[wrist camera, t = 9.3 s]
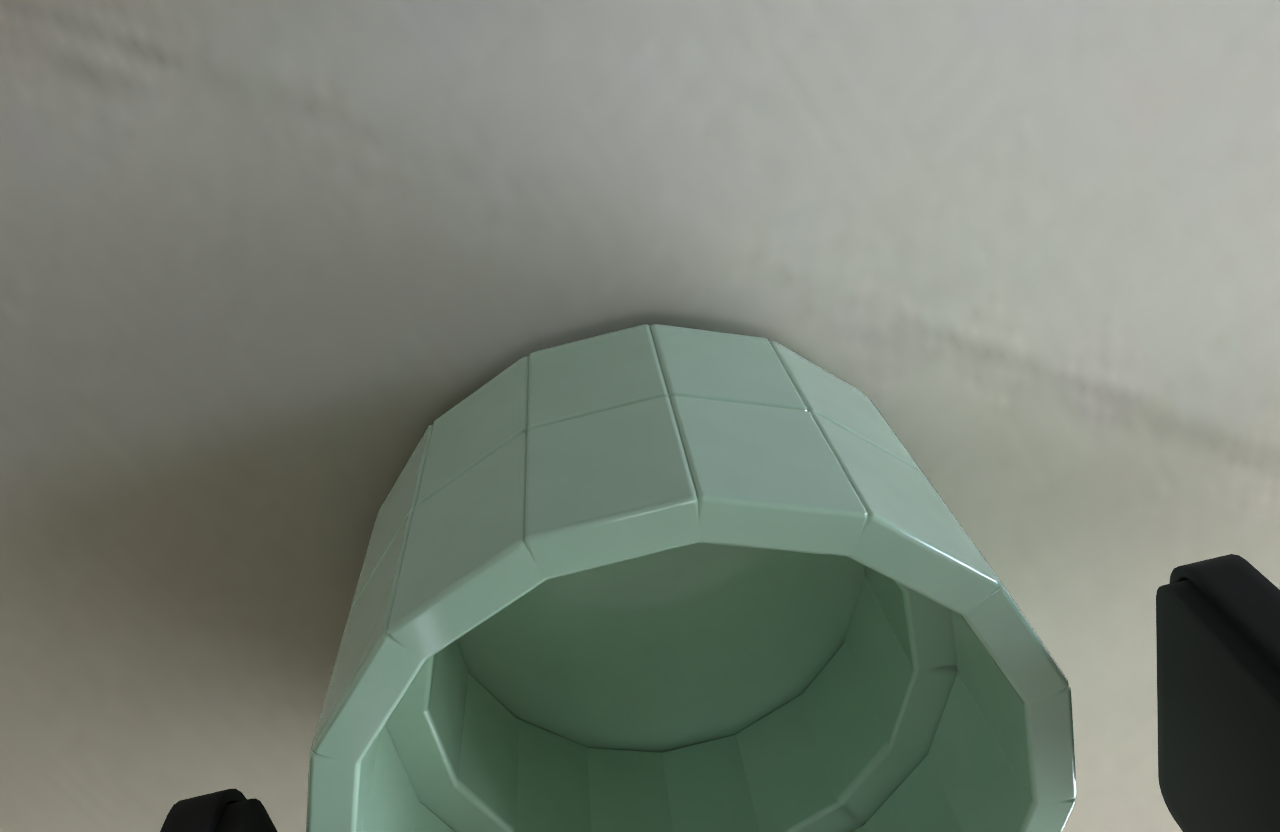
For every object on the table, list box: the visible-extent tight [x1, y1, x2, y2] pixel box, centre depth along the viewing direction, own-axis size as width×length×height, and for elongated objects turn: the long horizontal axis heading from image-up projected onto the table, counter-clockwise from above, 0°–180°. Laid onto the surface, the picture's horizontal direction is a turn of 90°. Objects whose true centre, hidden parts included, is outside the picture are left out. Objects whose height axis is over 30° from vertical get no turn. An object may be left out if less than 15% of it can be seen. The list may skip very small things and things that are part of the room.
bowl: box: [306, 324, 1077, 832], centre depth 12 cm, size 7×7×5 cm
